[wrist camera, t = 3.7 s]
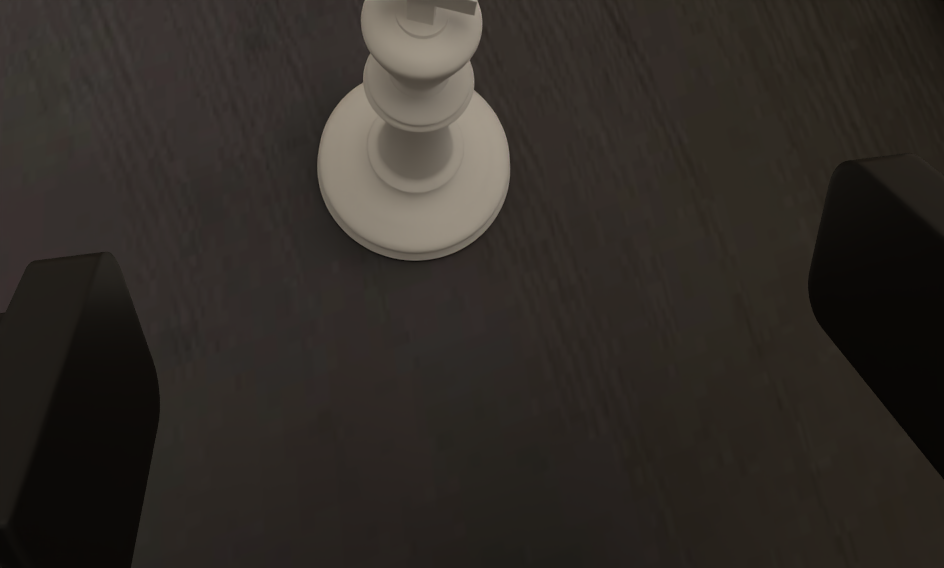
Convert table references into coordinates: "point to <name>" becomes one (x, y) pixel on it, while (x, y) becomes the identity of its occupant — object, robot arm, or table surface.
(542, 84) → the table surface
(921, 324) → the robot arm
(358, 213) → the chess piece
